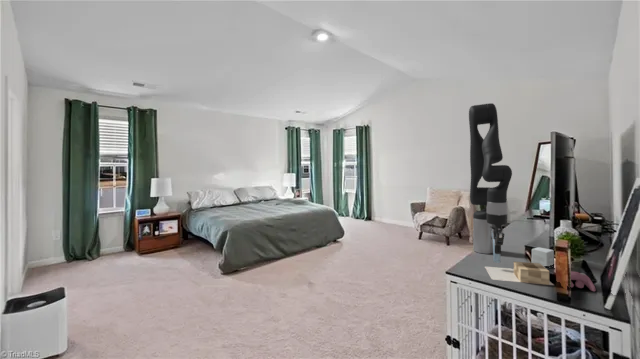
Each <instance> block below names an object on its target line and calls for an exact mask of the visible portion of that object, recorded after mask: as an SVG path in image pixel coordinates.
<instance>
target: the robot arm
mask: <svg viewBox="0 0 640 359" xmlns="http://www.w3.org/2000/svg"><path fill="white" fill-rule="evenodd" d="M497 111H498V110H497V107H496V104H494V103H483V104H475V105H471V106H470V107H469V109H468V123H469V134H470V135H469V137H470V138H469V141H470V143H469V144H470V145H469V146H470V149H469V160H470V161H469V163H470V184H469V185H470V186H469V187H470V188H469V189H470V190H469V201H470V203H471V205H474V206H486V207H485V208H483V209H481V210H476V211H474V212H473V214H472V215H473V220H472V222H473V223H472V226H473V227H472V228H473V230H472V233H473V239H472V240H473V244H472V245H473V249H472V250H473V251H474V252H476V253H479V254H488V255H490V254H493V239H494V244H495V253H496V254H500V255H502V246H503V245H504V239H505V233H504V228H503V226H505V225H506V226H507V224H508V202H507V199H508V196H507V194H508V189H509V185H510V182H511V180H512V176H513V171H512V170H513V169H512V168H511V167H510V166H509V165H507V164H498V165H497V163H500V162H501V161H503V158H504V157H503V156H504V155H503V152H502V146H501V143H500V134H499V131H500V130H499V120H498V112H497ZM486 124H487V125H489V128H488V130H487V133H486V134H485V137H484V138H483V136H482V134H480V132H479V128H478V127H479V125H486ZM495 164H496V165H495ZM481 179H483V180H484V181H485V182H487V183H498V185H497V186H493V187H490V186H489V187H487V186H486V187H484V186H483V187H482V186H481V187H480V186H479V183H480V181H481ZM478 186H479V187H478ZM498 241H500V242H498Z"/></svg>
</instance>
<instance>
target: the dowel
mask: <svg viewBox="0 0 640 359" xmlns="http://www.w3.org/2000/svg"><path fill="white" fill-rule="evenodd" d="M498 242H500V241H498ZM492 256H493V259H492V261H493V263H497V264H499V263H501V254H496V253H495V244H494V239H493V253H492Z"/></svg>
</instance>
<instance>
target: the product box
mask: <svg viewBox="0 0 640 359" xmlns="http://www.w3.org/2000/svg"><path fill="white" fill-rule="evenodd" d="M554 258H555V252H554V250H553V249H550V248H545V247H540V246H537V247H535V248H532V249H531V262H530V263H540V264H541V265H542V266H550V265H553V264H554V265H555V263H554V262H555V259H554Z"/></svg>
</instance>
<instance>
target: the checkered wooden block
mask: <svg viewBox="0 0 640 359" xmlns="http://www.w3.org/2000/svg"><path fill="white" fill-rule="evenodd" d="M513 269H514V275H515V276H516V277H517V278H518V280H519V281H520V282H519V283H524V282H525V283H527V284H534V283H536V284H537V285H545V284H547V286H550V285H549V281H550V270H548V268H545V267H544V266H542V265H541V264H540V263H531V262H527V261H526V262H525V261H513ZM536 284H535V285H536Z"/></svg>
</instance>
